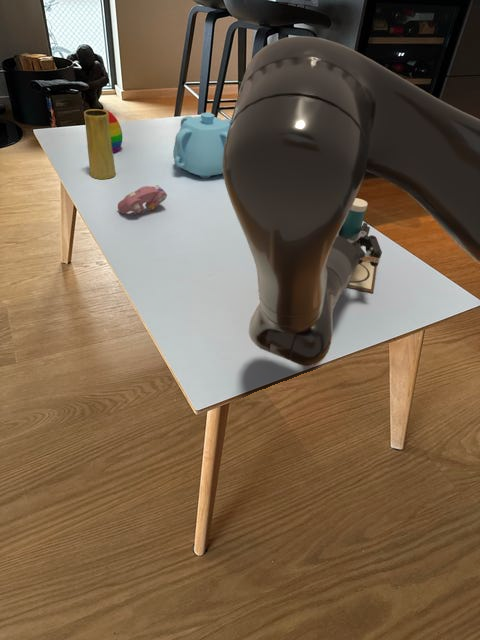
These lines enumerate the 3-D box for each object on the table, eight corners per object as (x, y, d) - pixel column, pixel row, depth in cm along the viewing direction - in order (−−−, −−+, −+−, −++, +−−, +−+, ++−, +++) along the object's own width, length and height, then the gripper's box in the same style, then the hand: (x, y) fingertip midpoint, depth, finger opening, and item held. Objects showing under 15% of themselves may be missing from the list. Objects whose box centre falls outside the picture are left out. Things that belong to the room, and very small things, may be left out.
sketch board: (376, 265, 90) (377, 263, 90) (372, 293, 83) (373, 291, 83) (326, 254, 92) (326, 251, 92) (317, 280, 85) (318, 278, 84)
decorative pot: (181, 154, 127) (181, 101, 118) (239, 161, 126) (243, 108, 118) (167, 177, 114) (166, 120, 106) (232, 185, 114) (236, 128, 105)
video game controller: (125, 224, 98) (132, 203, 92) (114, 208, 99) (120, 185, 93) (164, 212, 103) (172, 191, 98) (153, 197, 104) (161, 175, 98)
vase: (101, 181, 109) (94, 118, 100) (84, 173, 112) (75, 111, 103) (121, 174, 113) (115, 113, 104) (104, 167, 116) (97, 106, 107)
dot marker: (350, 265, 87) (368, 200, 79) (348, 273, 85) (366, 208, 76) (333, 261, 88) (349, 196, 79) (330, 269, 85) (347, 203, 77)
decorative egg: (101, 157, 121) (97, 117, 114) (86, 147, 125) (81, 108, 119) (129, 151, 125) (126, 112, 119) (113, 142, 130) (110, 104, 123)
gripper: (379, 262, 67) (399, 216, 79) (287, 235, 71) (321, 195, 83) (365, 304, 72) (387, 253, 84) (280, 276, 75) (313, 232, 88)
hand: (354, 224), depth 83 cm, fingers closed on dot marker, 3 cm apart
